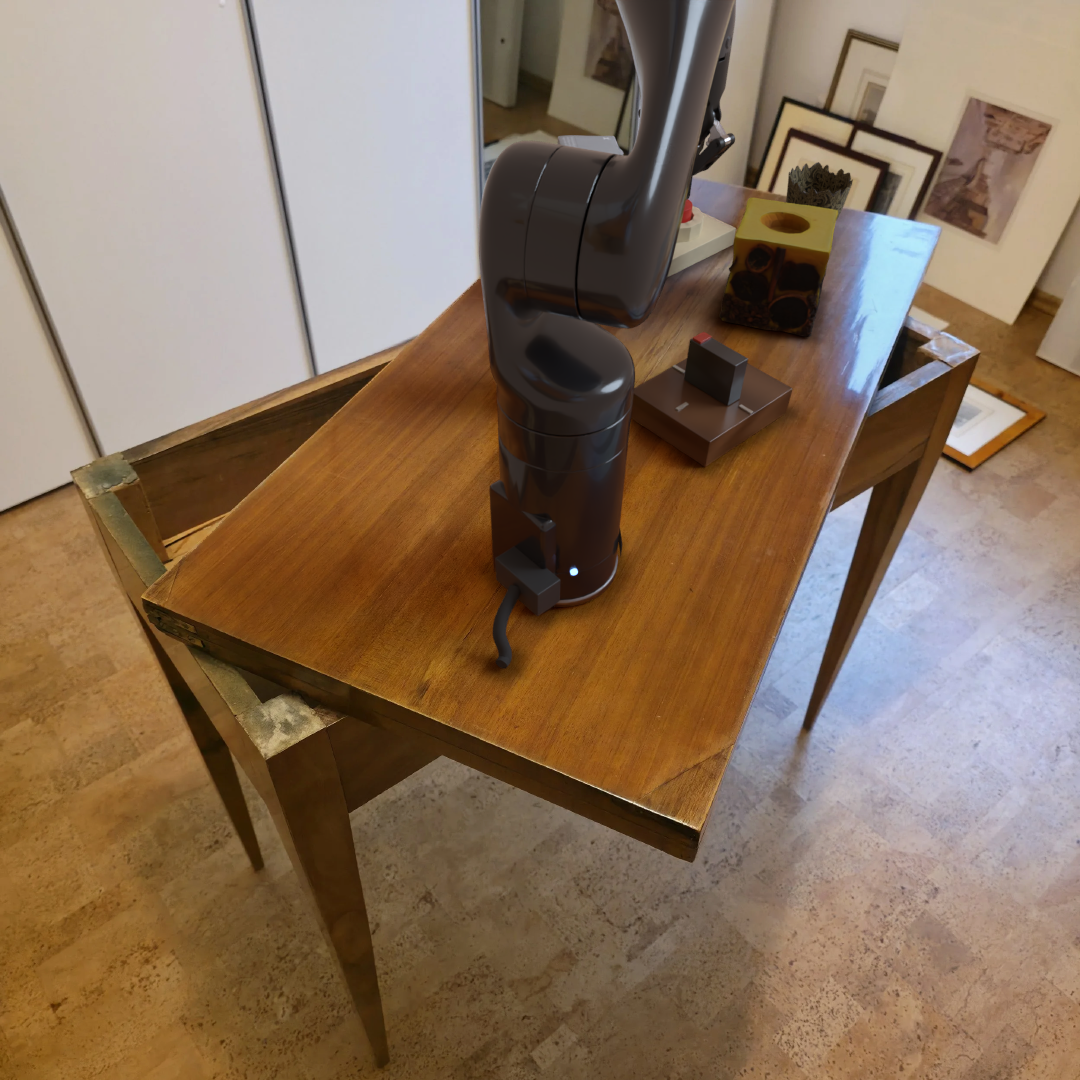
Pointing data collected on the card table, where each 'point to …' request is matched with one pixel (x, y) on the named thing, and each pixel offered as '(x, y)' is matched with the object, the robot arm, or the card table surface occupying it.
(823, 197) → the cup
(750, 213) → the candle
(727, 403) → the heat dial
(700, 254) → the kettle base
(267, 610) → the card table surface
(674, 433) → the dial panel
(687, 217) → the button
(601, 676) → the card table surface
